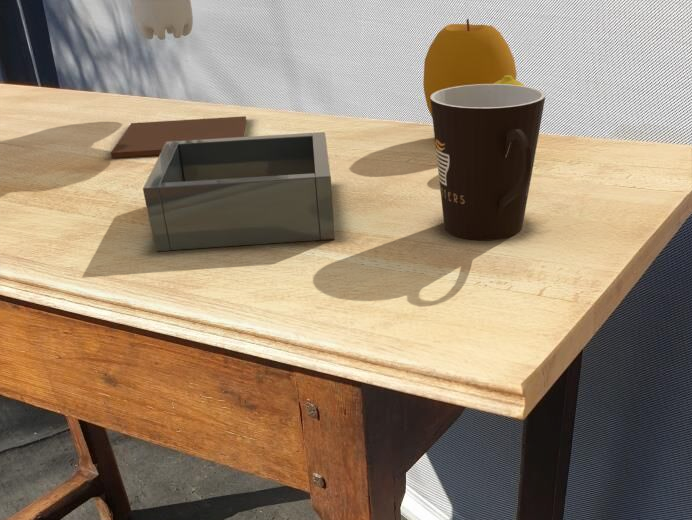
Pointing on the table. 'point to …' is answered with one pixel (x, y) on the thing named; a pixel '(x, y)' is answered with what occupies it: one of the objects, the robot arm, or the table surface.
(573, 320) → the table surface
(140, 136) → the mat
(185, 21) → the bottle
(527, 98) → the coffee mug
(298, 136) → the grey open box
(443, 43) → the apple
